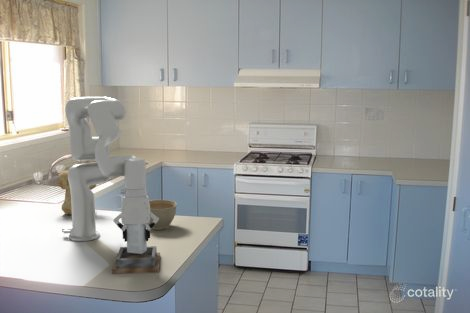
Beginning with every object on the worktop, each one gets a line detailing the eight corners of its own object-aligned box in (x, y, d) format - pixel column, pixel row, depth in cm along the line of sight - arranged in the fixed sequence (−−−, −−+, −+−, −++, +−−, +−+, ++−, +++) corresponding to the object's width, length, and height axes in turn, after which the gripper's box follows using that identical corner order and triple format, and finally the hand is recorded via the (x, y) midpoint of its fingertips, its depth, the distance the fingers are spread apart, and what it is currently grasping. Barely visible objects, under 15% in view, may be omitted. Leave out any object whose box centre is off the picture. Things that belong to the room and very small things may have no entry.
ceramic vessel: (63, 208, 263) (61, 160, 259) (101, 207, 265) (100, 160, 261) (54, 217, 246) (51, 166, 242) (95, 216, 248) (93, 166, 244)
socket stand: (112, 273, 178) (111, 261, 177) (117, 257, 194) (117, 246, 193) (158, 272, 179) (158, 260, 179) (160, 256, 195) (159, 244, 194)
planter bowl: (133, 229, 229) (133, 205, 227) (155, 220, 243) (154, 198, 241) (163, 234, 222) (162, 210, 220) (183, 225, 236) (183, 202, 234)
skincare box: (147, 250, 187) (146, 219, 185) (141, 254, 183) (140, 222, 181) (132, 248, 189) (131, 217, 187) (126, 252, 185) (125, 220, 183)
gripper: (109, 195, 178) (110, 244, 180) (159, 194, 179) (160, 243, 182) (112, 190, 185) (113, 237, 188) (160, 189, 187) (161, 236, 190)
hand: (136, 239), depth 185 cm, fingers closed on skincare box, 7 cm apart
